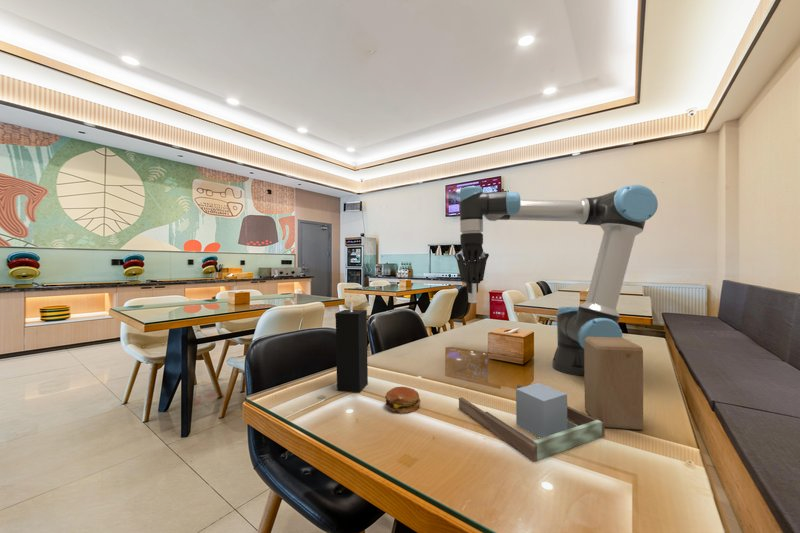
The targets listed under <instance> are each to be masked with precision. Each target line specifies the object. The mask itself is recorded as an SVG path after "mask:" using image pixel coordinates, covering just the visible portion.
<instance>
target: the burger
mask: <svg viewBox="0 0 800 533" xmlns="http://www.w3.org/2000/svg"><path fill="white" fill-rule="evenodd" d="M384 398H385V405H386V406H388V410H391V411H392V412H397V413H399V414H401V415H403V414H410V413H413V412H416V411H417V410H418V407H419V405H420V404H421V398H420V394H419V392H418V391H417V390H415V389H414V388H411V387H408V386H395V387H393V388H391V389H390V390H388V391H387V392H386V393H385V397H384Z"/></svg>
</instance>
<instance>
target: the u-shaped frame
mask: <svg viewBox="0 0 800 533" xmlns="http://www.w3.org/2000/svg"><path fill="white" fill-rule="evenodd" d="M525 386H526V385H525ZM525 386H524V385H522V384H517V385H516V389H518V388H521V387H525ZM458 409H459V411H461V412H463V414H466V415H467V416H468V417H470V418H471V419H473V420H475V421H476V422H477V423H478V424H480V425H481V426H482V427H484V428H485V429H487V430H488V431H489V432H491V433H492V434H494V435H496V436H497V437H498V438H500V439H501V440H502V441H504V442H505V443H507V444H508V445H510V446H511V447H512V448H513V449H515V450H516V451H518V452H520V453H521V454H522V455H523V456H525V457H527V458H528V459H529V460H530V461H532V462H537V461H539V460H542V459H545V458H548V457H551V456H554V455H556V454H558V453H562V452H563V451H567V450H569V449H572V448H575V447H578V446H580V445H581V446H582V445H583V444H586V443H589V442H592V441H594V440H595V441H596V440H597V439H601V438H603V437H606V436H605V435H606V433H605V431H606V427H605V423H604V422H602V421H599V420H597V419H595V418H593V417H591V416H590V415H588V414H586V413H584V412H581V411H579V410H577V409H575V408H572V407H571V406H568V405H567V419H568V420H567V421H568V422H570V423H572V424H574V425H576V426H577V427H574V428H571V429H568V430H565V431H562V432H559V433H555V434H552V435H549V436H546V437H543V438H538V439H534V440H533V443H532V442H531V441H529V440H528V439H526V438H524V437H523V436H521V435H520V434H518V433H517V432H515V431H514V430H512V429H510V428H509V427H507V426H506V425H504V424H503V423H501V422H500V421H498V420H496V419H495V418H493V417H492V416H490V415H489V414H487V413H486V412H487V411H484V410H483V409H481V408H479V407H478V406H476V405H475V404H473V403H471V402H470V401H469V400H467V399H465V398H464V397H458ZM550 455H551V456H550Z"/></svg>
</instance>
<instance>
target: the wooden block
mask: <svg viewBox="0 0 800 533" xmlns="http://www.w3.org/2000/svg"><path fill="white" fill-rule="evenodd" d="M583 376H584V409H585V411H586V412H587V414H589V416H591V417H593V418H595V419H597V420H599V421H602V422H604V423H605V428H612V429H613V428H615V429H626V430H639V431H641V430H643V429H644V350H643V347H642V346H641V345H639V344H636V343H635V342H632V341H630V340H629V339H626V338H623V337H622V338H619V337H586V338H585V340H584V375H583Z"/></svg>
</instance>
